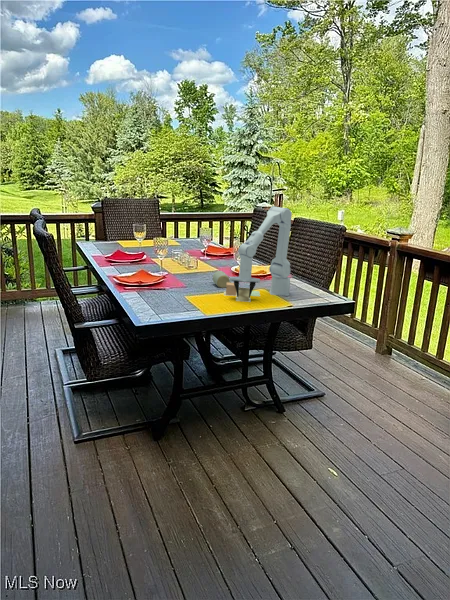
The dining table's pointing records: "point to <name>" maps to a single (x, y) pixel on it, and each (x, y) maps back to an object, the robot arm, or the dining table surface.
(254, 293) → the coaster
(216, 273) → the ceramic mug
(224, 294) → the code tile
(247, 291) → the birch block
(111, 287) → the dining table surface
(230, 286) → the terracotta block
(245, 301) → the code tile
